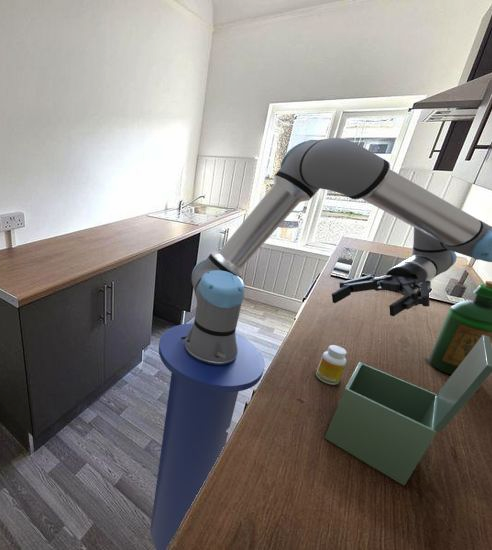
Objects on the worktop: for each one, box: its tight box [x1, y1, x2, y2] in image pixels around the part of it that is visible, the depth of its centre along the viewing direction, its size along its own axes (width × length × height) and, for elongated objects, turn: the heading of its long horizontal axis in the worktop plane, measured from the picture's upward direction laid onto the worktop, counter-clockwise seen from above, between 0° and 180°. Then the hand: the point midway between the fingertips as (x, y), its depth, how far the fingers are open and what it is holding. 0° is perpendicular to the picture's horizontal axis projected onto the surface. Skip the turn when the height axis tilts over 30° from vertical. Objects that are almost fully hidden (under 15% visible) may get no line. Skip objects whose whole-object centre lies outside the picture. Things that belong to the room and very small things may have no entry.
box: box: [324, 361, 438, 487], centre depth 61 cm, size 13×13×14 cm
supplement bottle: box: [315, 344, 348, 386], centre depth 80 cm, size 5×5×10 cm
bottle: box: [428, 280, 492, 376], centre depth 84 cm, size 11×11×28 cm
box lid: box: [435, 335, 492, 433], centre depth 51 cm, size 14×13×1 cm
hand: (360, 304), depth 76 cm, fingers open, 13 cm apart
